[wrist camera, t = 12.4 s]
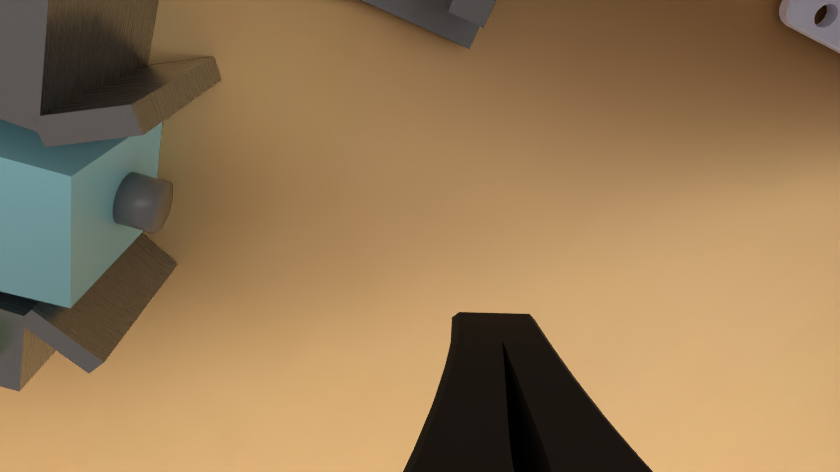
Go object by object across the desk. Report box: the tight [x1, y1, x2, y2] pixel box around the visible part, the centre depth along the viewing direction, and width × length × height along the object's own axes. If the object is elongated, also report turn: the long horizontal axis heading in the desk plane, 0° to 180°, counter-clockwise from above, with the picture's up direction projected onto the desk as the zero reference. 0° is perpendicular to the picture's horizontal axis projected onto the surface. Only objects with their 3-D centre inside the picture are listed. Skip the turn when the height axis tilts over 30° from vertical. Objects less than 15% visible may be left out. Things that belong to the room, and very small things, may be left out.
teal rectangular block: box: [0, 119, 173, 308], centre depth 13 cm, size 7×4×4 cm, turn 72°
